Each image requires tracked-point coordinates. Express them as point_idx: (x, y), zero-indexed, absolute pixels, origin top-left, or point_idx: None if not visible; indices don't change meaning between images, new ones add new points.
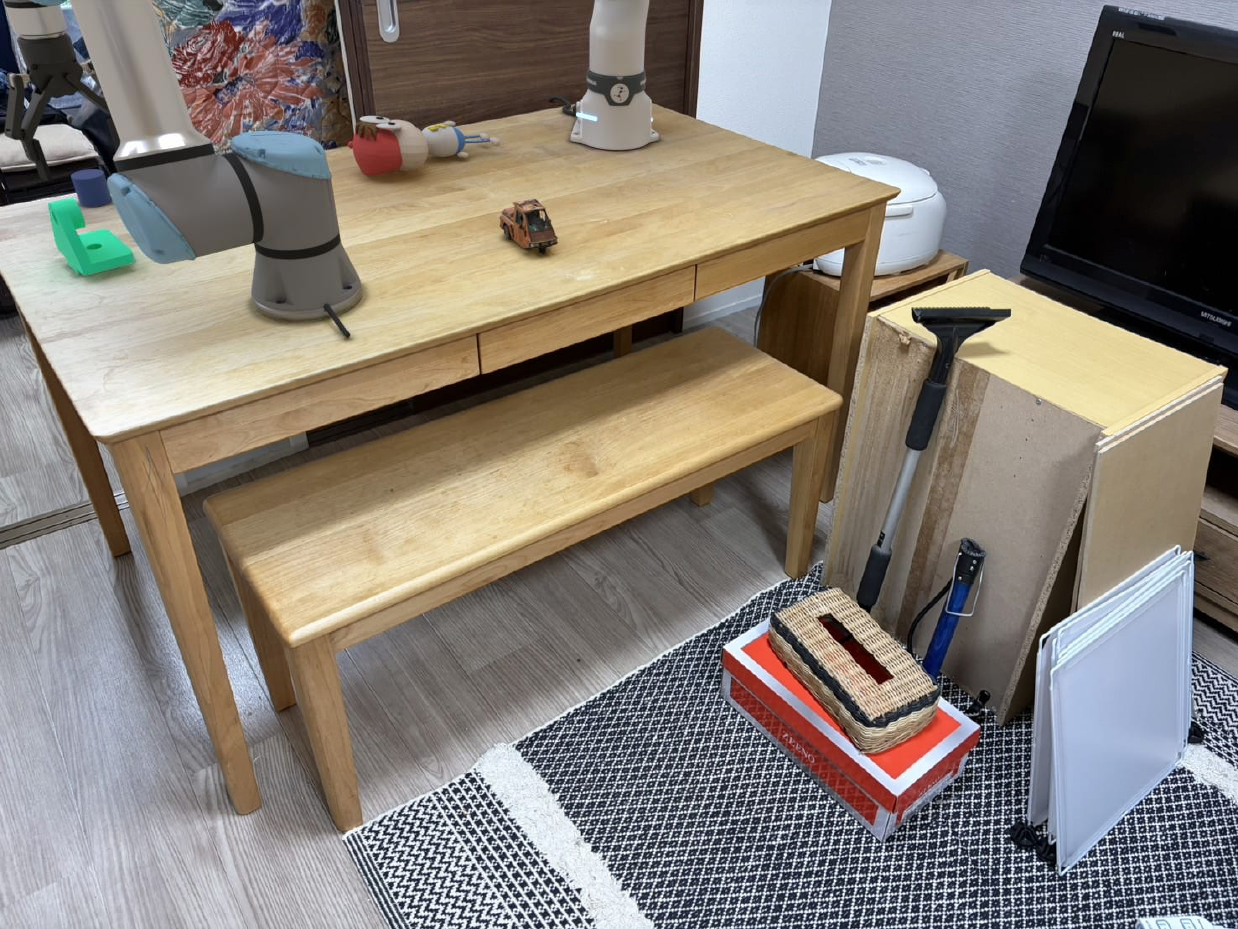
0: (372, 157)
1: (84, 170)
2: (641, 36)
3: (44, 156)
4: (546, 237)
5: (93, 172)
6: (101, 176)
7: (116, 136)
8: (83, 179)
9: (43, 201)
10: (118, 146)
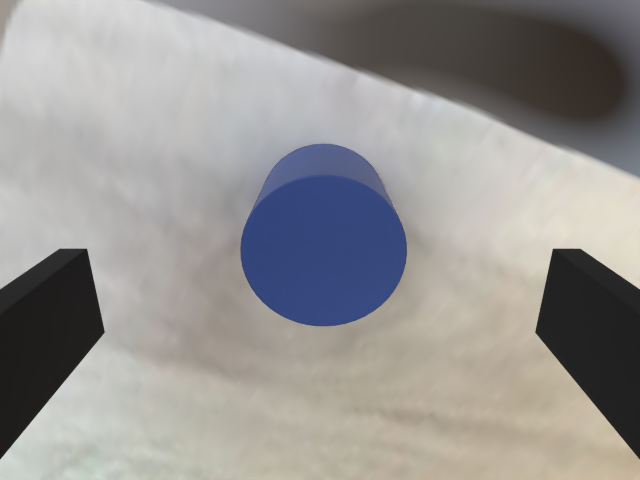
0: None
1: (346, 189)
2: None
3: (19, 434)
4: None
5: (359, 256)
6: (359, 316)
7: (633, 403)
8: (270, 308)
9: (162, 12)
10: (587, 338)
